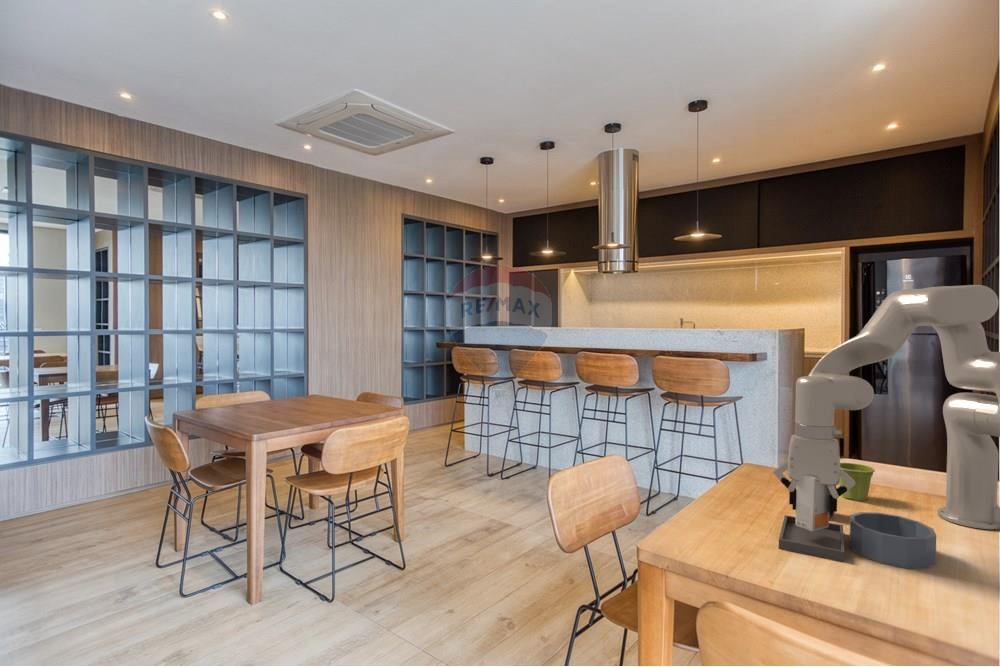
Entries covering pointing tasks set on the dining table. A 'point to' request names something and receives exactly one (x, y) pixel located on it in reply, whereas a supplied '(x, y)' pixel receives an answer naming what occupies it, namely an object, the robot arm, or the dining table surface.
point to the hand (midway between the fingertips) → (812, 510)
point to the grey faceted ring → (893, 540)
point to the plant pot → (857, 480)
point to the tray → (812, 540)
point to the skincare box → (812, 504)
